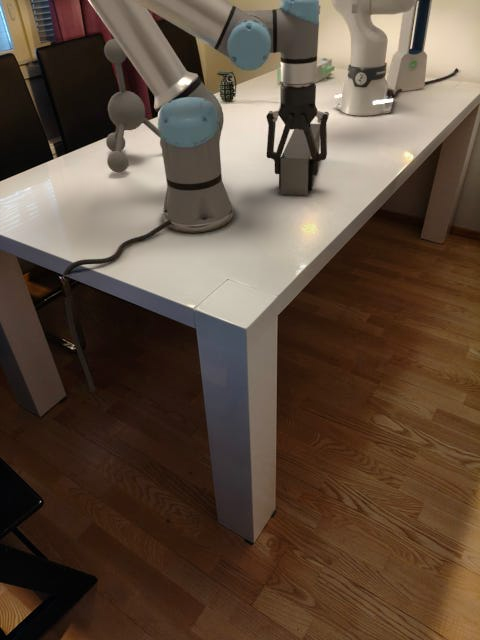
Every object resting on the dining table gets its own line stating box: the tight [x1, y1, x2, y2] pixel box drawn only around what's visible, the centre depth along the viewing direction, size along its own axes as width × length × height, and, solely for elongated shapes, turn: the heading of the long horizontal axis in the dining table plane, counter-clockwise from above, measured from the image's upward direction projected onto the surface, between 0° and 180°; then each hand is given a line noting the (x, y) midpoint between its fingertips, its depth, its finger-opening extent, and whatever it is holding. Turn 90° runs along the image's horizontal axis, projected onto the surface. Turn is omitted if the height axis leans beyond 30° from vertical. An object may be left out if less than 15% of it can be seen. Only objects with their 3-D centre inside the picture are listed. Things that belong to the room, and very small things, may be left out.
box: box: [280, 123, 320, 197], centre depth 122 cm, size 26×6×9 cm, turn 167°
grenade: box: [216, 70, 237, 103], centre depth 181 cm, size 7×6×10 cm
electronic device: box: [386, 0, 433, 92], centre depth 177 cm, size 12×8×30 cm, turn 105°
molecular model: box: [103, 38, 162, 174], centre depth 130 cm, size 24×22×30 cm
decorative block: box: [276, 57, 336, 84], centre depth 205 cm, size 26×6×20 cm
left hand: (295, 187), depth 117 cm, fingers closed on box, 6 cm apart
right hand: (335, 13), depth 123 cm, fingers open, 8 cm apart
